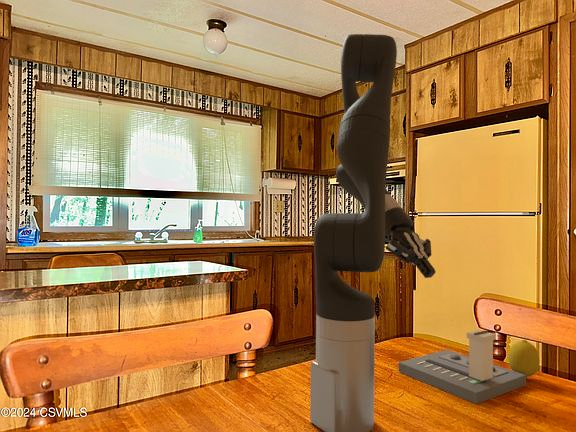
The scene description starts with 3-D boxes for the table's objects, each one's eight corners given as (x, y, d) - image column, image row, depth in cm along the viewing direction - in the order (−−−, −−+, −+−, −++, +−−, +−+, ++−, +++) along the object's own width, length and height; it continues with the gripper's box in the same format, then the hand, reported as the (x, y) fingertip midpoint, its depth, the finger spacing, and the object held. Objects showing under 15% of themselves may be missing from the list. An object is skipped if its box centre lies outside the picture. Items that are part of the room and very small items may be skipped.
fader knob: (482, 382, 77) (483, 335, 77) (466, 375, 80) (466, 331, 80) (495, 377, 80) (495, 332, 80) (478, 372, 82) (479, 328, 82)
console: (476, 404, 74) (476, 389, 74) (398, 371, 89) (398, 359, 89) (525, 385, 83) (525, 371, 83) (447, 358, 98) (447, 347, 98)
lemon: (545, 384, 83) (546, 343, 83) (519, 384, 83) (520, 344, 83) (526, 373, 89) (527, 335, 89) (501, 373, 88) (502, 335, 88)
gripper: (376, 205, 94) (420, 265, 84) (417, 207, 102) (461, 262, 91) (360, 228, 99) (399, 288, 88) (400, 228, 106) (440, 284, 95)
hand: (431, 275), depth 90 cm, fingers closed
